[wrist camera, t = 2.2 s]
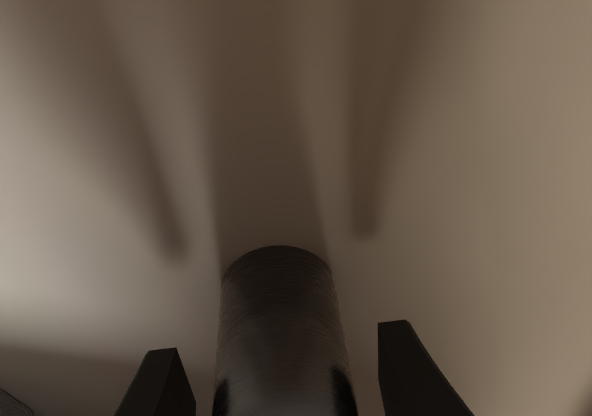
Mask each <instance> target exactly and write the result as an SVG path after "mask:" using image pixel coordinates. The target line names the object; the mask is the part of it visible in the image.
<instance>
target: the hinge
mask: <svg viewBox="0 0 592 416" xmlns="http://www.w3.org/2000/svg"><path fill="white" fill-rule="evenodd" d="M0 416H32V411H31V410H30V409H29V408H27V407H26V406H24V405H23V404H21V403H20V402H18V401H17V400H15V399H14V398H12V397H11V396H9V395H8V394H6V393H5V392H3V391H2V390H0Z"/></svg>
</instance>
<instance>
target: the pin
mask: <svg viewBox="0 0 592 416" xmlns="http://www.w3.org/2000/svg"><path fill="white" fill-rule="evenodd" d="M212 416H359V415H358V409H357V404H356V399H355V393H354V388H353V383H352V377H351V372H350V367H349V361H348V356H347V351H346V345H345V340H344V335H343V329H342V324H341V319H340V313H339V308H338V303H337V297H336V292H335V287H334V281H333V277H332V274H331V272H330V270H329V268H328V267H327V265H326V264H325V263H324V262H323V261H322V260H321V259H320V258H318V257H317V256H316V255H314V254H312V253H310V252H308V251H305V250H303V249H299V248H295V247H289V246H270V247H265V248H261V249H257V250H254V251H252V252H249V253H247V254H245V255H244V256H242V257H241V258H239V259H238V260H236V261H235V262H234V263H233V264H232V265H231V266H230V268H229V269H228V270H227V272H226V274H225V276H224V278H223V282H222V289H221V302H220V315H219V329H218V342H217V355H216V369H215V382H214V395H213V409H212Z"/></svg>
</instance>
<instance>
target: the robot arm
mask: <svg viewBox="0 0 592 416" xmlns="http://www.w3.org/2000/svg"><path fill="white" fill-rule="evenodd" d="M378 379H379V385H380V390H381V395H382V400H383V405H384V410H385V415H386V416H474V414H473V413H472V412H471V411H470V410H469V408H468V407H467V406H466V404H465V403H464V402H463V400H462V399H461V398H460V397H459V395H458V394H457V393H456V391H455V390H454V389H453V387H452V386H451V385H450V383H449V382H448V381H447V379H446V378H445V377H444V375H443V374H442V372H441V371H440V370H439V368H438V367H437V365H436V364H435V362H434V361H433V359H432V358H431V356H430V355H429V353H428V352H427V350H426V349H425V347H424V346H423V344H422V343H421V341H420V339H419V338H418V336H417V334H416V333H415V331H414V329H413V328H412V326H411V324H410V323H409V322H408V321H407V320H397V321H389V322H381V323H378ZM114 416H196V401H195V398H194V396H193V393H192V390H191V387H190V384H189V382H188V379H187V376H186V373H185V371H184V368H183V365H182V362H181V359H180V357H179V354H178V351H177V348H168V349H160V350H152V351H149V352H148V353H147V354H146V355H145V357H144V359H143V361H142V363H141V365H140V367H139V369H138V371H137V373H136V375H135V377H134V379H133V381H132V383H131V385H130V387H129V388H128V390H127V392H126V394H125V396H124V398H123V400H122V401H121V403H120V405H119V407H118V409H117V411H116V412H115V414H114Z"/></svg>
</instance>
